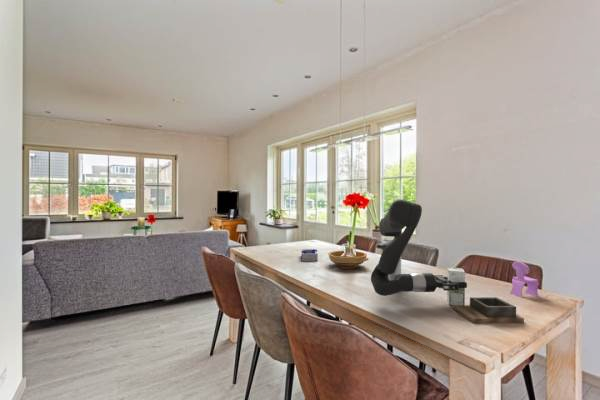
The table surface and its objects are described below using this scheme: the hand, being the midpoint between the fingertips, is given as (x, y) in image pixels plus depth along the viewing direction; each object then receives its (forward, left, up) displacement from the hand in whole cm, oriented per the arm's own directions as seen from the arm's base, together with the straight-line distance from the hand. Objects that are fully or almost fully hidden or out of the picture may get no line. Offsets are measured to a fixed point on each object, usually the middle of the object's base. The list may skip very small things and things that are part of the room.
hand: (460, 282), depth 124 cm
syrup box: (-2, 0, -9) cm, 9 cm away
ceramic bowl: (-34, +69, -9) cm, 78 cm away
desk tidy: (-57, +94, -9) cm, 110 cm away
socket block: (+3, -12, -9) cm, 15 cm away
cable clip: (-58, +94, -9) cm, 111 cm away
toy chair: (+35, +11, -9) cm, 38 cm away
